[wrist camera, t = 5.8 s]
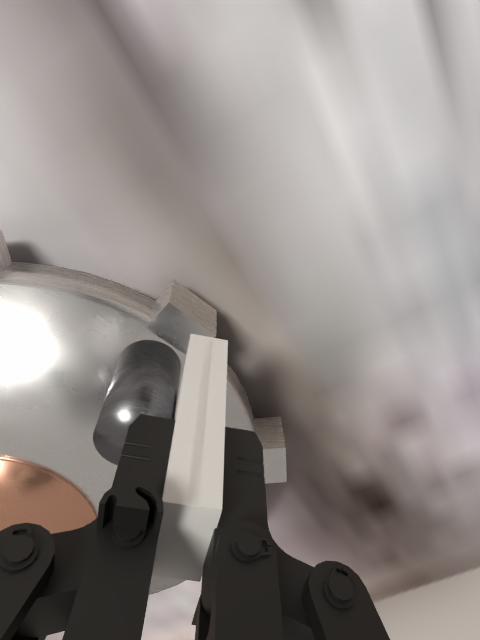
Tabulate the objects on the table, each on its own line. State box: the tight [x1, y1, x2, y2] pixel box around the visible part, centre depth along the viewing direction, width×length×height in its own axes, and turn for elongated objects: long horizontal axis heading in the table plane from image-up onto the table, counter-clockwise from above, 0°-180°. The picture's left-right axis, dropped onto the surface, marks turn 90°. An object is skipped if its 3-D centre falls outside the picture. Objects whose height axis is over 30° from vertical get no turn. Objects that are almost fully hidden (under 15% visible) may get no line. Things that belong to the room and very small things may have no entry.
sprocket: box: [0, 230, 287, 595], centre depth 20 cm, size 22×22×6 cm
